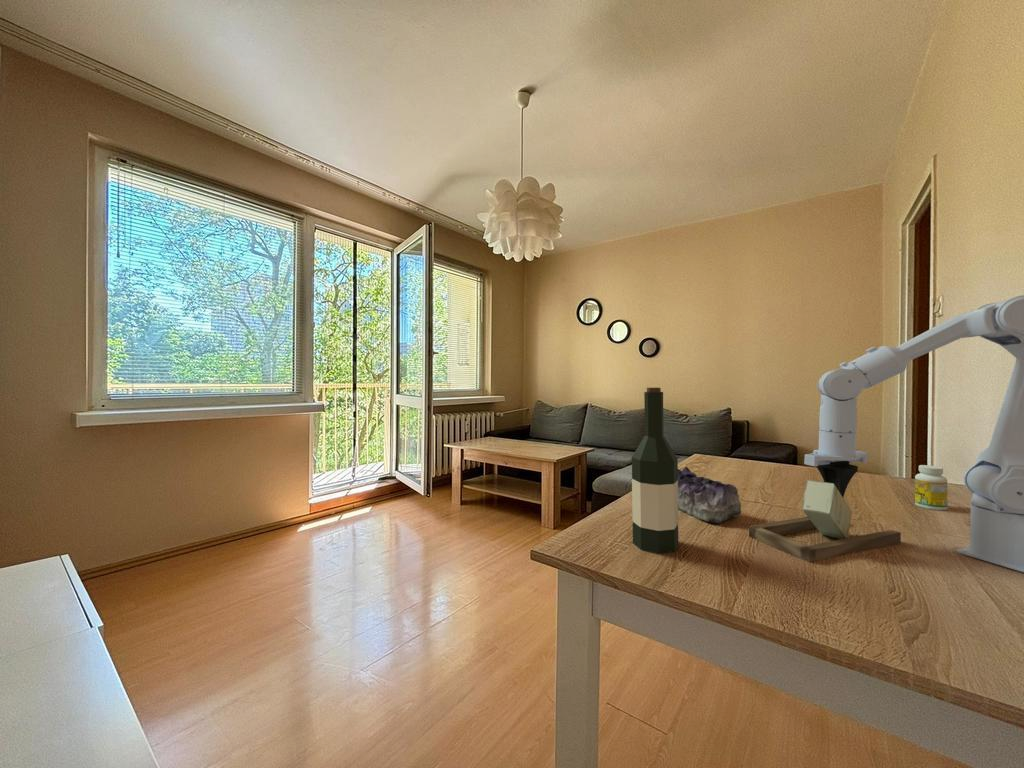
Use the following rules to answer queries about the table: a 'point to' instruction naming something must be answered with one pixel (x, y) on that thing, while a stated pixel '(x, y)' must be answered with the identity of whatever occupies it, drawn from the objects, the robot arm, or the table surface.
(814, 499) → the skincare box
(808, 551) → the cradle
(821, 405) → the robot arm
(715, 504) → the geode
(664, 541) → the wine bottle
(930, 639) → the table surface
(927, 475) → the supplement bottle
